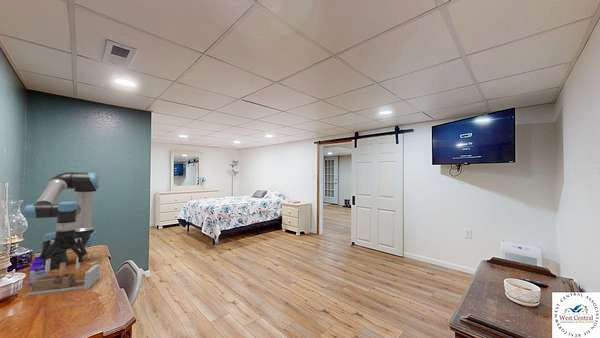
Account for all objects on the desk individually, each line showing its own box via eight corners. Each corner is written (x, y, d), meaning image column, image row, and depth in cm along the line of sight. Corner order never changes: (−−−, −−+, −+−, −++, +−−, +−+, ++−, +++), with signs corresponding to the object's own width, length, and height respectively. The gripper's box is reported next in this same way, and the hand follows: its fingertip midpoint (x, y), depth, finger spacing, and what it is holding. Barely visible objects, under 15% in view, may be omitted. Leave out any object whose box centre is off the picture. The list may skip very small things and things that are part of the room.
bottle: (33, 288, 127) (36, 255, 128) (25, 286, 128) (28, 255, 129) (49, 282, 134) (52, 252, 135) (42, 281, 135) (45, 251, 136)
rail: (38, 288, 127) (40, 269, 128) (98, 281, 138) (99, 264, 138) (22, 299, 115) (23, 278, 116) (88, 291, 126) (90, 272, 126)
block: (41, 287, 126) (42, 275, 126) (74, 283, 131) (75, 272, 132) (31, 293, 119) (32, 281, 119) (67, 289, 124) (68, 278, 124)
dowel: (59, 285, 127) (61, 262, 128) (65, 284, 128) (66, 261, 129) (57, 286, 125) (58, 263, 126) (63, 285, 126) (64, 263, 127)
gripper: (31, 232, 120) (27, 275, 118) (90, 230, 129) (87, 269, 128) (40, 229, 127) (37, 270, 125) (96, 227, 136) (93, 265, 135)
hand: (62, 270), depth 127 cm, fingers open, 12 cm apart
